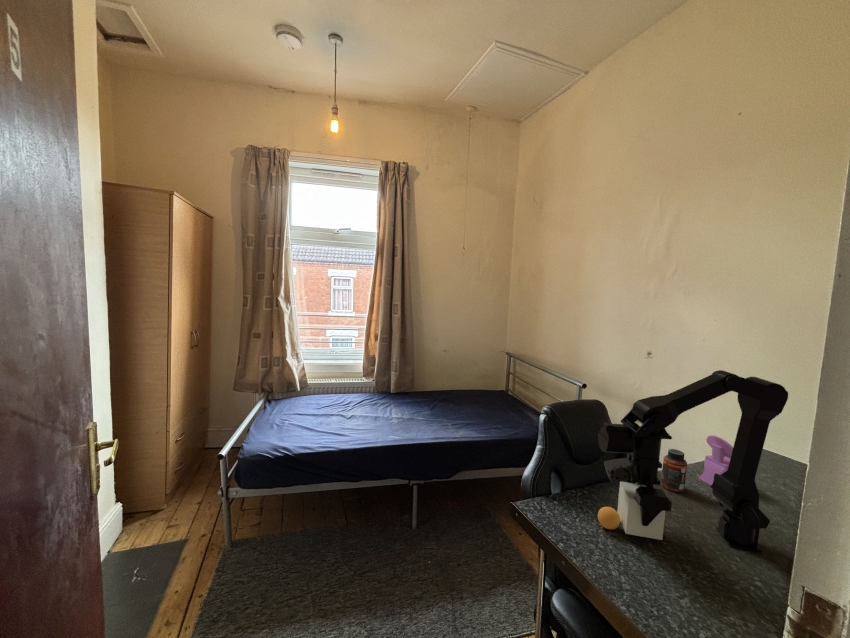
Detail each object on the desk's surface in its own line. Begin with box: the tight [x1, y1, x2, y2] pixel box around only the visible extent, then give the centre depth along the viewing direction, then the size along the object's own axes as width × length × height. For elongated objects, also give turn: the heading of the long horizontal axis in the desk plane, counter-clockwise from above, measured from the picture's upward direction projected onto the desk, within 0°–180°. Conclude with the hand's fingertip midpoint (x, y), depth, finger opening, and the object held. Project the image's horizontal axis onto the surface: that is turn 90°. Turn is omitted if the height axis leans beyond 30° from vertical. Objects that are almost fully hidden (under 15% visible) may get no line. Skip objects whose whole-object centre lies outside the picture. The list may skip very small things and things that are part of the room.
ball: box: [597, 506, 621, 530], centre depth 91 cm, size 5×5×5 cm
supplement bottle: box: [660, 448, 688, 493], centre depth 110 cm, size 6×6×11 cm
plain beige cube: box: [616, 481, 666, 541], centre depth 89 cm, size 8×8×9 cm
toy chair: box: [698, 434, 734, 486], centre depth 114 cm, size 8×9×15 cm
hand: (638, 515), depth 89 cm, fingers closed on plain beige cube, 8 cm apart
